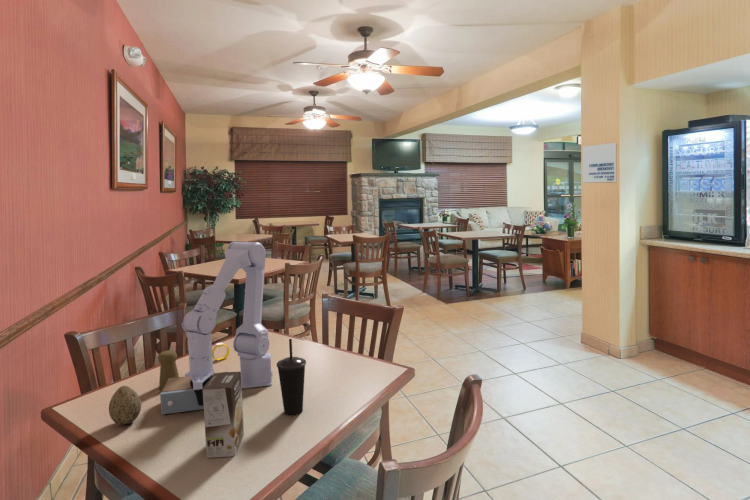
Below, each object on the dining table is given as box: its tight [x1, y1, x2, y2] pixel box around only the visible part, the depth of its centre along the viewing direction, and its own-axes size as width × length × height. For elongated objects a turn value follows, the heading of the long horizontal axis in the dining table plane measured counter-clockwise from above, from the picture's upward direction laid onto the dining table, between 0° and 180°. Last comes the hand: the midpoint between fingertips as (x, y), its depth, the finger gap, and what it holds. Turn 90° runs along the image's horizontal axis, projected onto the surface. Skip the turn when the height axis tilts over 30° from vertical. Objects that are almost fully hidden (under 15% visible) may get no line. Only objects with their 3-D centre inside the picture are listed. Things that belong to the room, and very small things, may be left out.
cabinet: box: [161, 371, 224, 392], centre depth 120 cm, size 16×9×6 cm, turn 104°
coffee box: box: [202, 371, 245, 459], centre depth 97 cm, size 9×6×16 cm
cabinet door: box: [159, 389, 204, 415], centre depth 114 cm, size 17×3×6 cm, turn 104°
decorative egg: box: [108, 385, 142, 426], centre depth 109 cm, size 7×7×10 cm
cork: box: [157, 349, 180, 391], centre depth 130 cm, size 6×6×11 cm
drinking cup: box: [276, 338, 307, 417], centre depth 112 cm, size 8×8×20 cm
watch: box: [212, 342, 230, 362], centre depth 152 cm, size 6×3×6 cm, turn 131°
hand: (203, 404), depth 114 cm, fingers closed
